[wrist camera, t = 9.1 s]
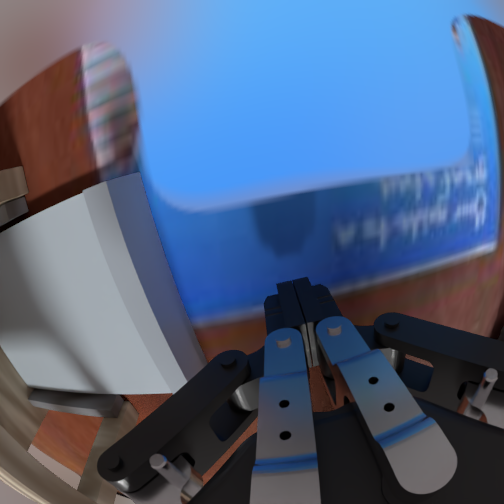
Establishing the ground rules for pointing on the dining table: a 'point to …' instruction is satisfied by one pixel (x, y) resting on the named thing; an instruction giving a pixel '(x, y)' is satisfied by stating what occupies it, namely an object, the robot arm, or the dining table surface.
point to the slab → (95, 298)
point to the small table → (41, 400)
